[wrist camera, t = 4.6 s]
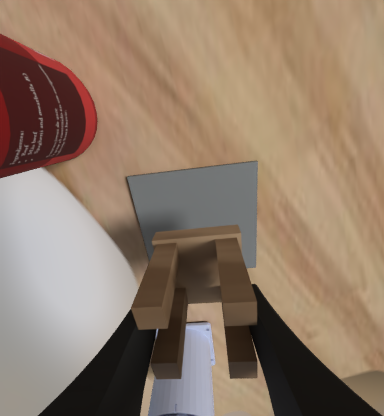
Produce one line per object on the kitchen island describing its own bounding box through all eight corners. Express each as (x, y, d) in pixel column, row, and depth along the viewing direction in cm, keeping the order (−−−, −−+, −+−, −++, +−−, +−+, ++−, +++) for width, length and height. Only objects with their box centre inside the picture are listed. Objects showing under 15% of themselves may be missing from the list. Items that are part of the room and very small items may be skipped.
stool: (240, 288, 15) (263, 381, 10) (170, 292, 16) (151, 382, 10) (238, 224, 13) (264, 295, 8) (155, 232, 14) (122, 303, 8)
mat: (255, 265, 22) (255, 267, 21) (154, 273, 23) (153, 275, 22) (256, 160, 17) (257, 161, 17) (128, 176, 18) (127, 177, 17)
